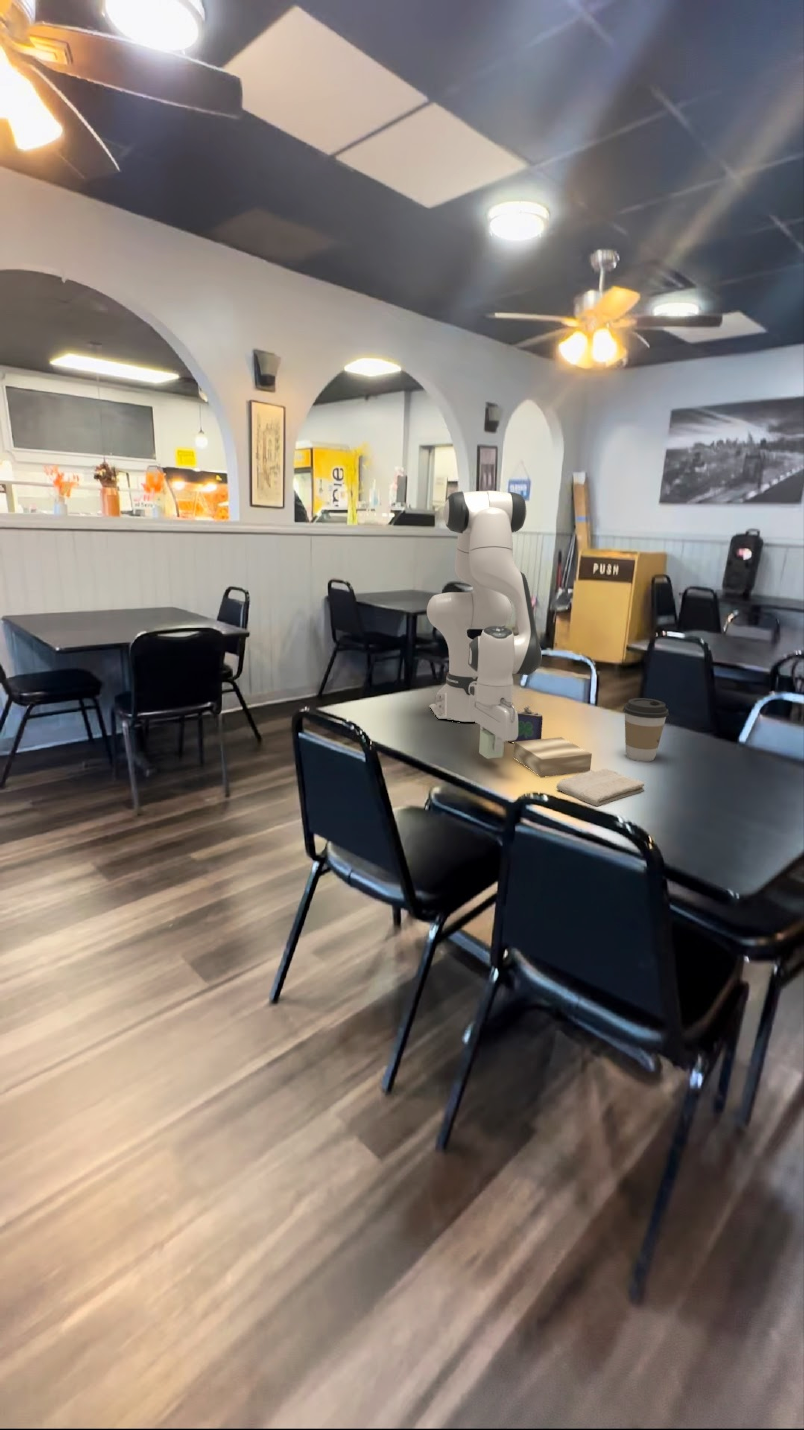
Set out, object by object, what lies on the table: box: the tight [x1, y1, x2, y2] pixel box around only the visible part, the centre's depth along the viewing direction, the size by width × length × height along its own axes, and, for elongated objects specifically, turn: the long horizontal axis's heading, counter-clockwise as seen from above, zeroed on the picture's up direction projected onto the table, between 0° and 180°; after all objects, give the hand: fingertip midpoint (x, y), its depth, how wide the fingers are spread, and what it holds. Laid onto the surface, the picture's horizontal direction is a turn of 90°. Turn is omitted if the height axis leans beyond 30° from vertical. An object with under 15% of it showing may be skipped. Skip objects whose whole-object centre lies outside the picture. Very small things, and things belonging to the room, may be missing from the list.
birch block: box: [513, 736, 593, 778], centre depth 170 cm, size 14×14×5 cm
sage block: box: [478, 730, 505, 760], centre depth 168 cm, size 4×4×6 cm
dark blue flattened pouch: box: [508, 705, 544, 743], centre depth 185 cm, size 9×3×11 cm, turn 65°
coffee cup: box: [622, 697, 670, 763], centre depth 175 cm, size 11×11×15 cm
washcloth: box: [556, 768, 645, 807], centre depth 154 cm, size 12×18×3 cm, turn 126°
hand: (491, 746), depth 168 cm, fingers closed on sage block, 4 cm apart
